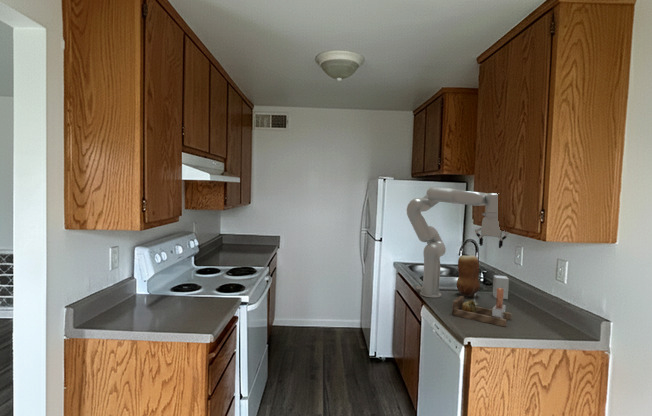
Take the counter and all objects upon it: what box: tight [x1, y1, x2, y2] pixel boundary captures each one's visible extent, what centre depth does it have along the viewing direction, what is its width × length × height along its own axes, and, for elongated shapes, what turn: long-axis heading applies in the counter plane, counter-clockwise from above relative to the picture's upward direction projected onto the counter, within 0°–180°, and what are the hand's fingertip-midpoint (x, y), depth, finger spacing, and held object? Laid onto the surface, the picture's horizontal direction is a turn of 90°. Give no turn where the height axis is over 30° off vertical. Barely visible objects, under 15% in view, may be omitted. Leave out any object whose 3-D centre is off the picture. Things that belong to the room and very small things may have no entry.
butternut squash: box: [456, 255, 481, 298], centre depth 228 cm, size 14×13×25 cm
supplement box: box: [492, 274, 510, 300], centre depth 229 cm, size 7×7×13 cm
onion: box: [461, 299, 479, 313], centre depth 193 cm, size 8×8×8 cm
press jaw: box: [492, 288, 506, 319], centre depth 185 cm, size 4×10×15 cm, turn 145°
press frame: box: [451, 295, 512, 328], centre depth 190 cm, size 25×14×7 cm, turn 55°
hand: (490, 246), depth 208 cm, fingers open, 9 cm apart
